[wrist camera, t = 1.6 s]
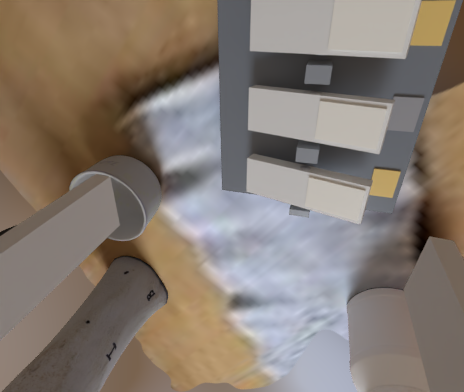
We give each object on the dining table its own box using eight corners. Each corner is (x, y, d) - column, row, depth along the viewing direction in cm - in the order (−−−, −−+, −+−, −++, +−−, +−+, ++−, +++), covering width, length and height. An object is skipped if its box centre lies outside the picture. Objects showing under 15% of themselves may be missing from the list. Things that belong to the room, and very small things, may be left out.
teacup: (130, 132, 41) (91, 154, 34) (185, 189, 43) (159, 220, 36) (86, 184, 48) (47, 211, 41) (135, 230, 50) (106, 263, 44)
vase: (185, 294, 56) (83, 489, 32) (140, 312, 62) (28, 485, 39) (138, 244, 52) (-13, 420, 29) (96, 268, 59) (-55, 428, 35)
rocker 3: (253, 153, 32) (246, 158, 31) (373, 179, 26) (370, 187, 25) (252, 186, 34) (245, 192, 33) (363, 217, 28) (359, 226, 27)
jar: (340, 292, 44) (344, 398, 32) (412, 282, 40) (448, 400, 28) (365, 342, 48) (376, 454, 36) (433, 338, 44) (473, 464, 31)
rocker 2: (255, 84, 28) (248, 87, 27) (395, 99, 23) (392, 103, 22) (254, 126, 30) (246, 130, 29) (381, 149, 25) (378, 155, 24)
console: (230, -19, 29) (202, -29, 22) (454, -27, 24) (497, -43, 18) (231, 175, 39) (212, 204, 33) (386, 195, 35) (398, 233, 29)
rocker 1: (259, -5, 24) (250, -6, 23) (425, -12, 19) (424, -14, 18) (257, 50, 27) (248, 51, 25) (406, 57, 21) (404, 60, 20)
